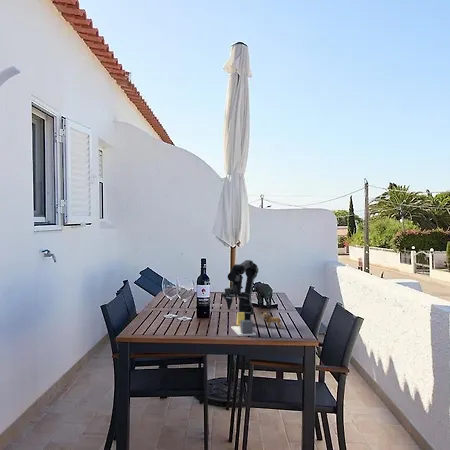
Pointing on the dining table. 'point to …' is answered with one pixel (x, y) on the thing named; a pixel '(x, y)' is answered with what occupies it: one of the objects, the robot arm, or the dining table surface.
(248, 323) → the cord rail
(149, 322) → the dining table surface
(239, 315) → the yellow pegged block
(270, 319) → the lion figurine
